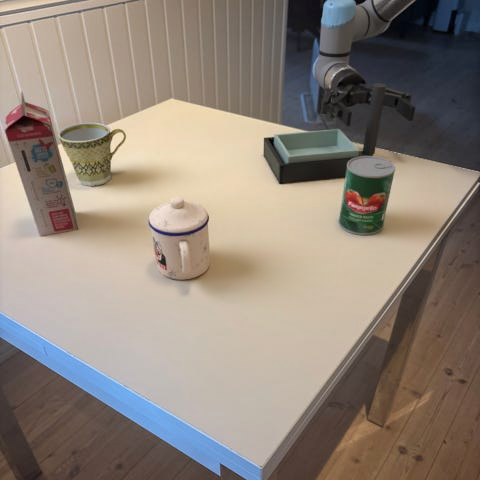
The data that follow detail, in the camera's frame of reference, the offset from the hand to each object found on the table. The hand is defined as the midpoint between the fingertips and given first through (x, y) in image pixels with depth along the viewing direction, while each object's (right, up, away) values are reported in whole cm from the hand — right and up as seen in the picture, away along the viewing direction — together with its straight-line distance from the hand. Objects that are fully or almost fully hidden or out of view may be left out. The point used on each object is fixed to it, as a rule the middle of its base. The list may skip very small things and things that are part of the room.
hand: (381, 116), depth 99 cm
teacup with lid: (-38, -34, -21) cm, 55 cm away
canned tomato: (-7, -24, -11) cm, 27 cm away
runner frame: (-13, -7, +8) cm, 17 cm away
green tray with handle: (-10, -6, +7) cm, 14 cm away
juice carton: (-62, -24, -10) cm, 67 cm away
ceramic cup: (-58, -11, +4) cm, 59 cm away
